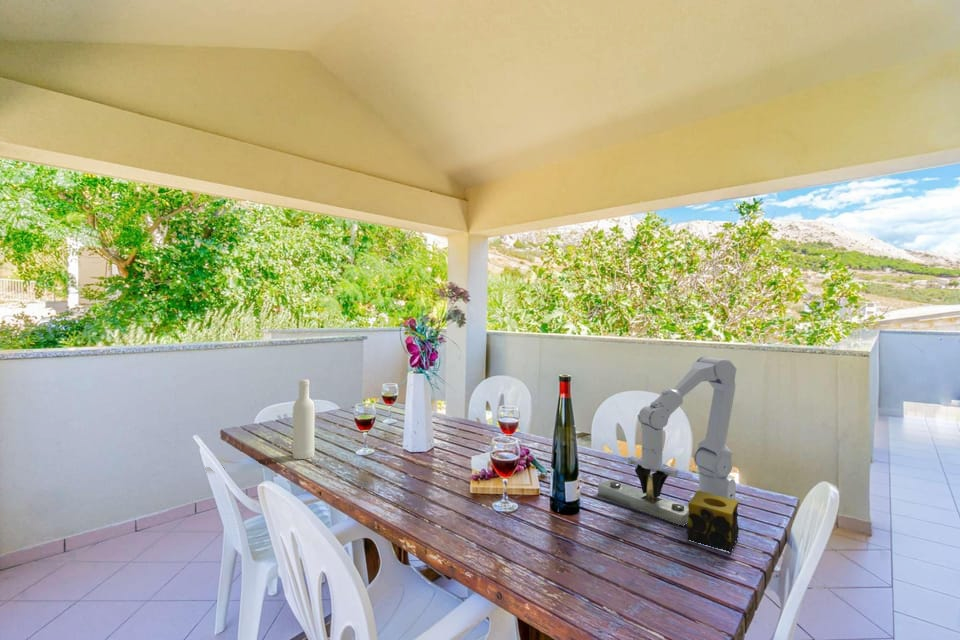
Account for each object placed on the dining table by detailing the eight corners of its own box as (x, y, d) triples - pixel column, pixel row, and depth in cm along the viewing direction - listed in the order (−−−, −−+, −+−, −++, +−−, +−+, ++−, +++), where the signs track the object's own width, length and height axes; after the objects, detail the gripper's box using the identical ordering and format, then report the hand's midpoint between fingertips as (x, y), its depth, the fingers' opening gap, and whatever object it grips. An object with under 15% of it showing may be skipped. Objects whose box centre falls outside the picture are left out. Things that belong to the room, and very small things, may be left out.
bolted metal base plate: (694, 519, 121) (694, 506, 121) (682, 526, 117) (682, 513, 117) (611, 488, 143) (611, 477, 142) (598, 493, 138) (598, 482, 138)
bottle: (287, 458, 168) (288, 380, 168) (301, 452, 175) (302, 378, 175) (305, 460, 166) (306, 382, 165) (318, 454, 173) (319, 379, 173)
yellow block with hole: (695, 526, 118) (696, 489, 118) (738, 538, 111) (739, 500, 111) (685, 541, 110) (686, 501, 110) (731, 555, 103) (732, 513, 103)
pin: (658, 500, 128) (659, 476, 128) (653, 503, 126) (654, 478, 126) (648, 497, 130) (649, 473, 130) (643, 499, 128) (644, 475, 128)
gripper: (622, 444, 131) (621, 489, 131) (669, 457, 119) (668, 506, 120) (635, 440, 135) (634, 484, 135) (681, 452, 124) (680, 499, 124)
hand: (651, 494), depth 128 cm, fingers closed on pin, 3 cm apart
